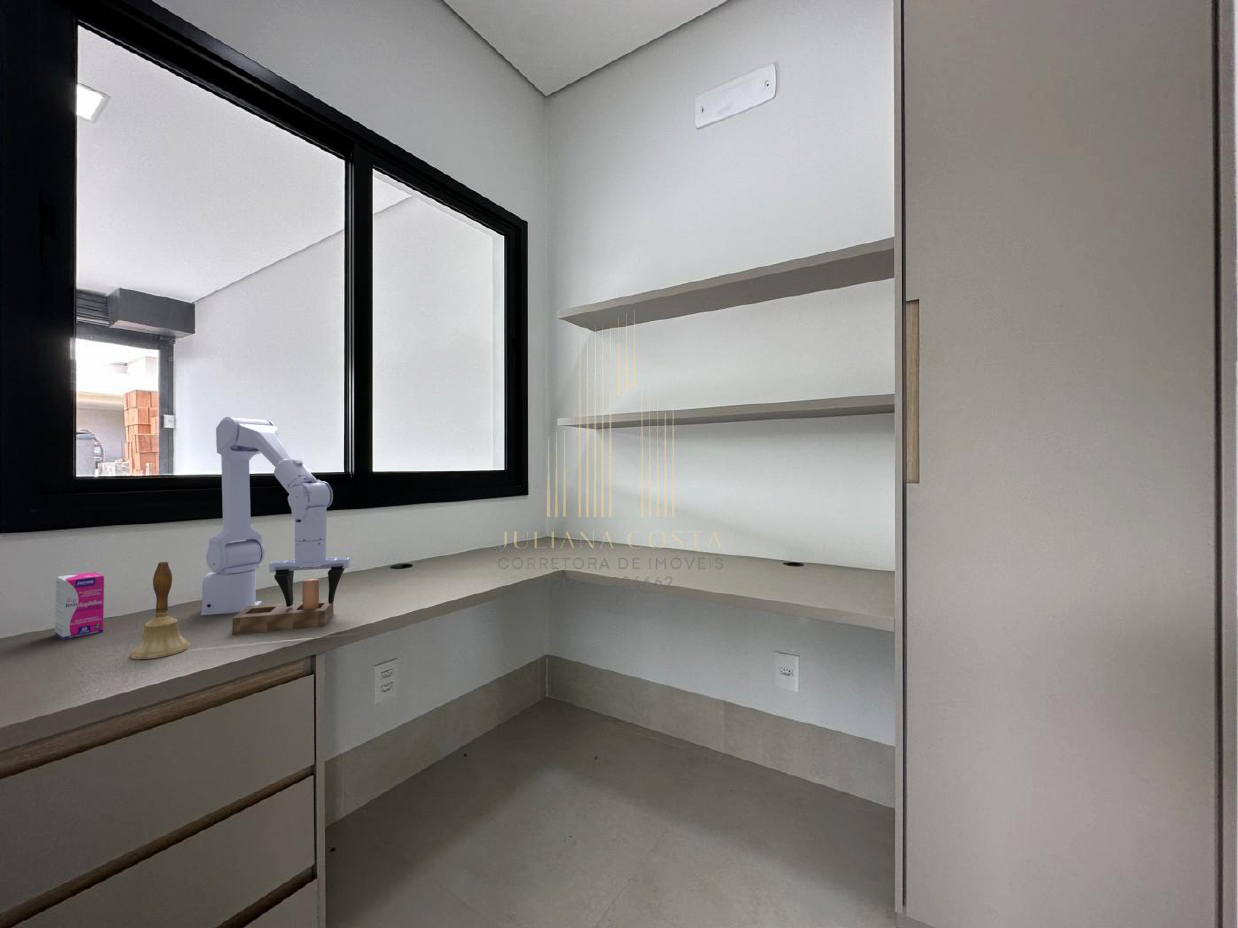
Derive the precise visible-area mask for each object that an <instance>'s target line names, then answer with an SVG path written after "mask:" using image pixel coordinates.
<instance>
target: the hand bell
mask: <svg viewBox="0 0 1238 928" xmlns="http://www.w3.org/2000/svg"><path fill="white" fill-rule="evenodd" d="M152 577H153V578H152V586H153V587H152V589H153V591H154V593H155V599H156V602H155V613H154V614H155V615H154V618H152V619H151V620H149V621H147V622H146V623H145V624H144V625H143V626H144V629H143V632H142V637H141V639H140V642H139V643H138V645H137V646H136V647H135V648H134V649H133V650H132V651H131V652H130V654H129V658H131V659H133V660H151V659H158V658H163V657H165V658H166V657H168V656H173V655H177V654H180V653H182V652H185V651H187V650H188V649H189V648H190V647H191V646H192V645H191V643H190V642H189V641H188V640H187V639H185V638H184V636H183V635H182V633H181V631H180V627H179V621H178V619H177V618H176V617H172V616H169V613H168V611H169V608H168V607H169V603H168V602H169V601H168V600H169V598H168V597H169V594H170V591H171V588H172V583H173V574H172V570H171V568H170V566H169V562H168V561H160V562H158V564H157V565H156V569H155V571H154V574H153V576H152Z"/></svg>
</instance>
